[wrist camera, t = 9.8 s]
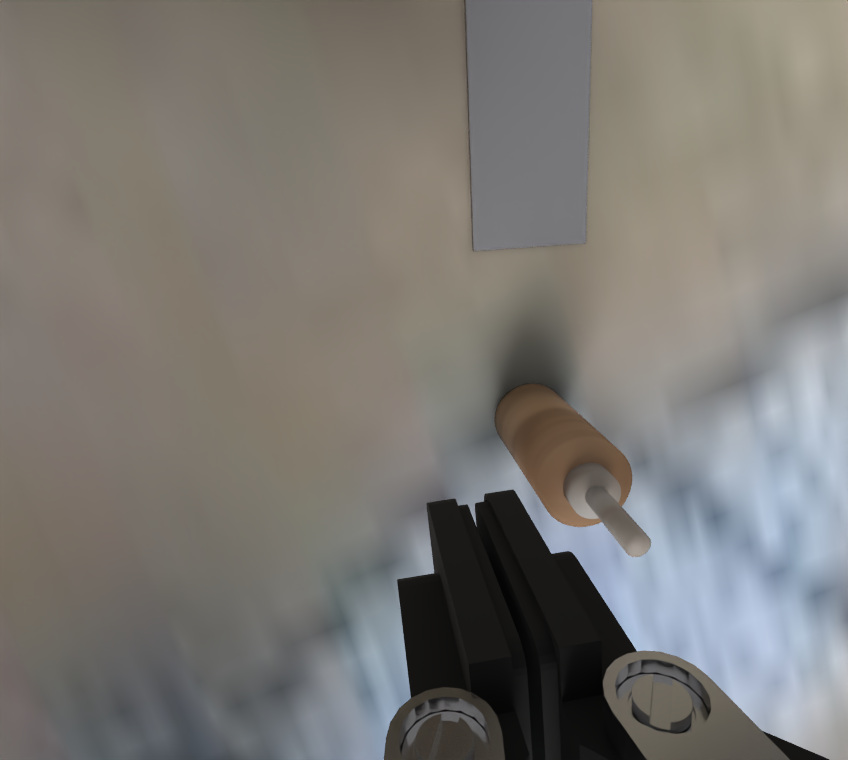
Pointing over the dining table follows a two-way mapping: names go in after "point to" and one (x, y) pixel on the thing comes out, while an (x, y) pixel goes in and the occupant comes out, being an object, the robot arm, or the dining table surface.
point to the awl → (569, 463)
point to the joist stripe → (528, 121)
